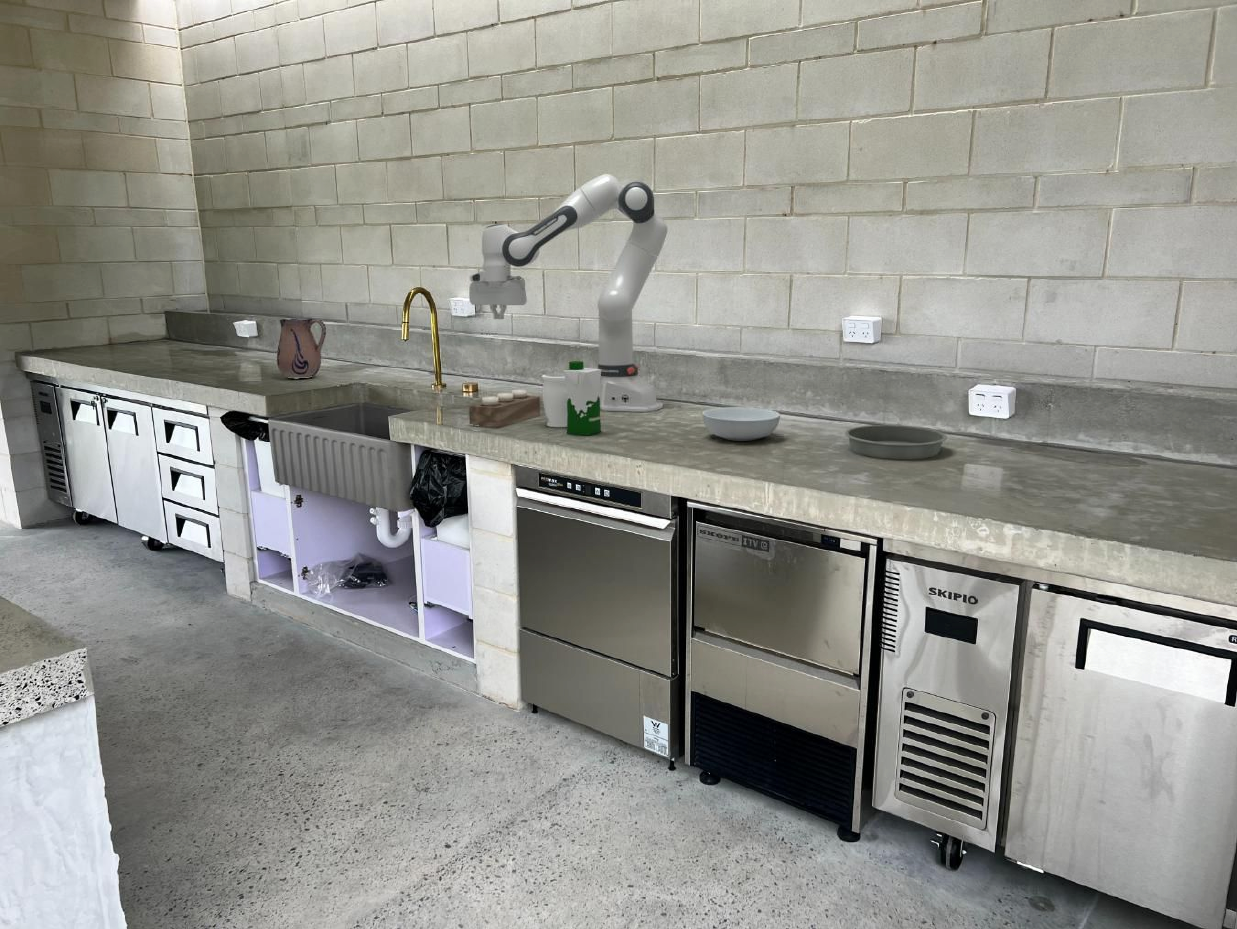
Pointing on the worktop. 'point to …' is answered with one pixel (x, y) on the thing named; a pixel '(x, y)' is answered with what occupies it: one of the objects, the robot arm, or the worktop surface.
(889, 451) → the cake pan
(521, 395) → the knob
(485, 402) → the knob
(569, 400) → the milk carton
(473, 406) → the knob mount
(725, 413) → the serving bowl
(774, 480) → the worktop surface
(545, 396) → the white cup
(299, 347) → the ceramic pitcher
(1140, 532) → the worktop surface
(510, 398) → the knob middle
